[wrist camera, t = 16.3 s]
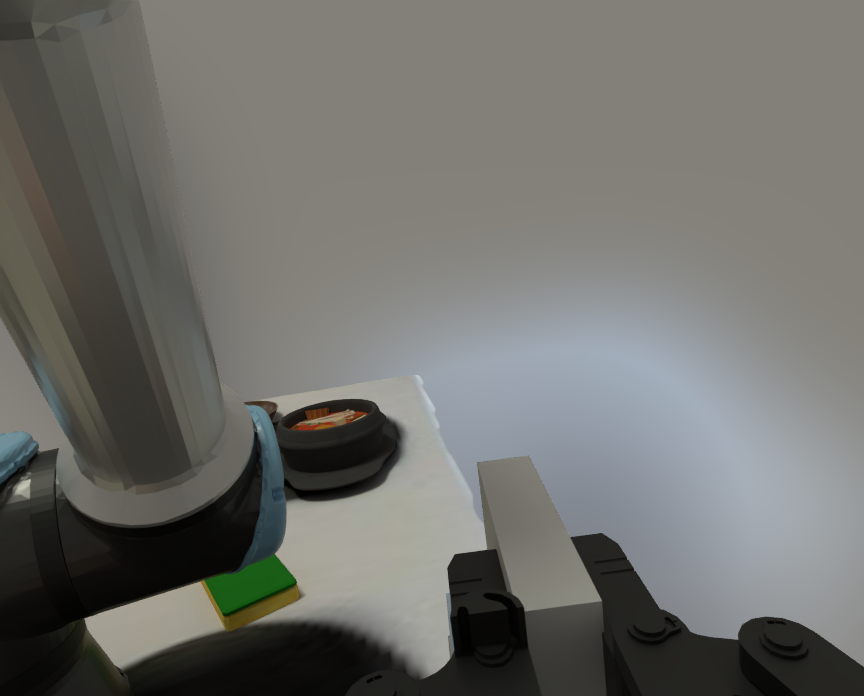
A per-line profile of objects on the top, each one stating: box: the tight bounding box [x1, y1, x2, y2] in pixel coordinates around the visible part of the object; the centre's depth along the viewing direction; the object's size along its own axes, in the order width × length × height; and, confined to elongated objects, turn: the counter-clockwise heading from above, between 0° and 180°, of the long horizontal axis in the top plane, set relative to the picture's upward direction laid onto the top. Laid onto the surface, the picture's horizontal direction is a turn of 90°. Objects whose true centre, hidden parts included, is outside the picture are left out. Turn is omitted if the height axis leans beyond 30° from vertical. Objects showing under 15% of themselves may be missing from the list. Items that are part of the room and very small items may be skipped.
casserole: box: [276, 399, 396, 491], centre depth 88 cm, size 25×19×8 cm
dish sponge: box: [201, 554, 299, 631], centre depth 61 cm, size 7×14×2 cm, turn 34°
